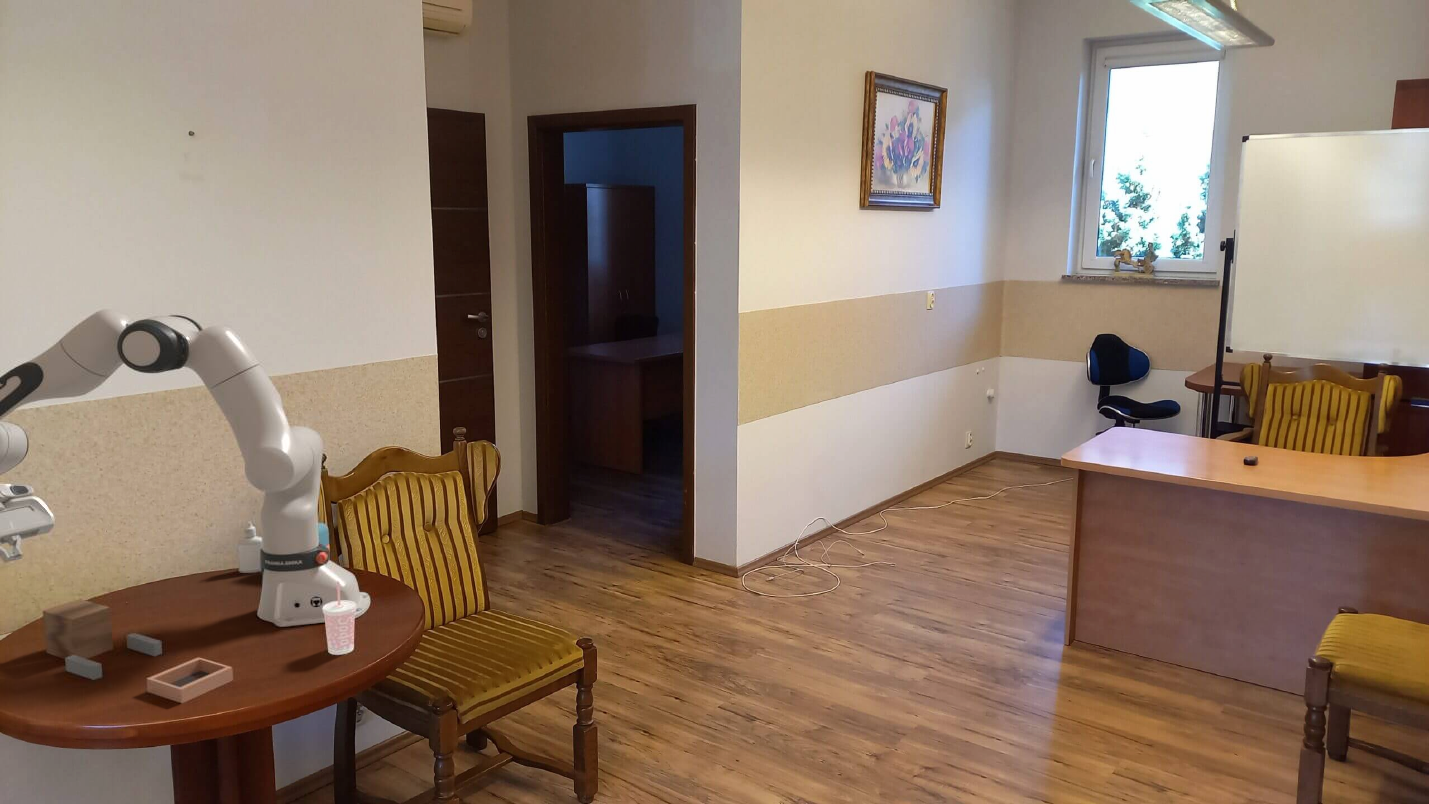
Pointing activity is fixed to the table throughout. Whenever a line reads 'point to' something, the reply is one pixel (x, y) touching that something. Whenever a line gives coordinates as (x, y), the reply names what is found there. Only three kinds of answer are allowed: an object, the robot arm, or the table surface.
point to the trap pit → (189, 680)
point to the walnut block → (78, 629)
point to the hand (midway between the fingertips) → (14, 559)
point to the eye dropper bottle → (249, 551)
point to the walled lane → (95, 669)
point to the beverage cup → (339, 625)
